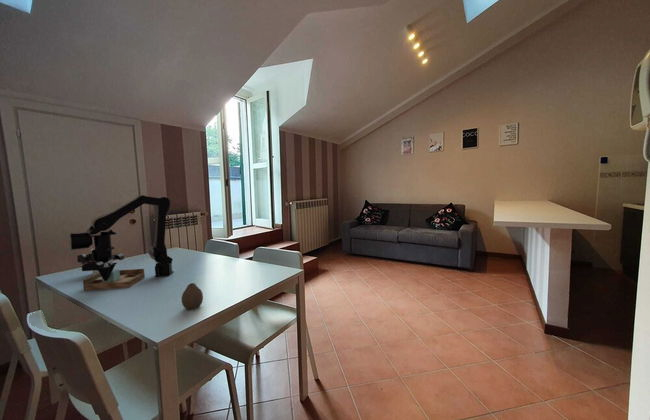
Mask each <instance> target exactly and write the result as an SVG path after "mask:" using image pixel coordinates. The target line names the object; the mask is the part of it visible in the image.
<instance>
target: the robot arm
mask: <svg viewBox="0 0 650 420" xmlns="http://www.w3.org/2000/svg"><path fill="white" fill-rule="evenodd" d="M142 205H151V206H153V209H154V213H155V224H154V237H153V238H154V240H153V241H154V242H153V244H152V246H151V245H150V246H148V255H149V258H150V259H152V260H154V261H155V266H154V274H155V275H154V277H155V278H157V277H169V276H171V275H172V274H174V272H175V271H174V270H173V265H172V264H173V260H174V259H173V258H172V257H170V256H169V255H168V253H167V252H168V251H167V247H166V244H165V239H166V227H167V226H166V224H167V223H166V222H167V214H168V212H169V210H170V207H171V200H170V198H168V197H165V196H157V197H154V196H153V197H152V196H147V195H138V196H136V197H135V198H134V199H131V200H130V201H128V202H126V203H125V204H123V205H121V206H120V207H118V208H116V209H115V210H113V211H111V212H107V213H105V214H102V215H99V216H97V217H95V218H93V219H92V220H91V225H90V227H89V228H88V229H87V230H86V231H85V232H71V233H69V249H70V251H75V250H81V249H89V248H90V246H93V247H94V248H92V249H93V250H92V249H91V250H92V251H90V253H88V254H85V253H81V254H79V255H77V258H76V259H77V260H76V262H77V263H79V264H81V271H82V272H93V271H94V270H98V271H99V273H100V274H101V276H102V278H103V280H104V281H107V280H108V279H109V277H110V275H111V273H112V271H113V270H115V267H116V265H117V264H118V263H117V262H114V261H115V260H119V261H123V260H125V255H124V254H123V252H119V253H113V250H114V249H115V246H112V235H113V236H114V235H117V232H115V231H113V229H112V227H113V226H114V225H115V224H116V223H117V222H118V221H119V220H120V219H121V218H122V217H124V216H127V214H128V215H129V213H132V212H133V211H134V210H136V209H138V208H139V207H141V206H142ZM91 252H92V253H91ZM95 261H97V262H95Z"/></svg>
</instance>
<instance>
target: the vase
mask: <svg viewBox="0 0 650 420" xmlns="http://www.w3.org/2000/svg"><path fill="white" fill-rule="evenodd" d="M203 301H204V295H203V292H202V290H201V288H199V286H197V284H196V283H193V282H192V283H188V285H187V286H186V288H185V290H184V291H183V292H182V295H181V304H182V306H183V308H185V310H187V311H194V310H197V309H198V308H200V307H201V306H202V303H203Z"/></svg>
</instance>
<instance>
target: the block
mask: <svg viewBox="0 0 650 420" xmlns="http://www.w3.org/2000/svg"><path fill="white" fill-rule="evenodd" d="M119 270H120V269H113V271H112V273H111V275H110V277H109V279H108V280H107V281H104V280H103V282H108V281H115V280H117V279H119V278H120V271H119ZM102 279H103V278H102Z"/></svg>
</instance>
